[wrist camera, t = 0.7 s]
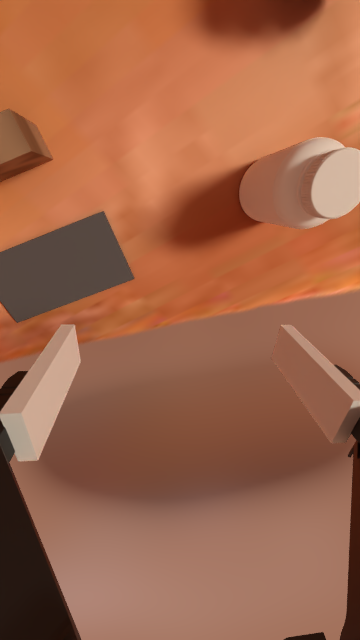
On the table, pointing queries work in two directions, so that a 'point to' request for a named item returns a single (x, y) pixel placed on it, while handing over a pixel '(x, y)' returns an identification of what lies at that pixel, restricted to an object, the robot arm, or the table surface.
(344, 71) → the table surface
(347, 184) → the pill bottle
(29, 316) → the mat
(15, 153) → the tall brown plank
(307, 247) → the table surface
